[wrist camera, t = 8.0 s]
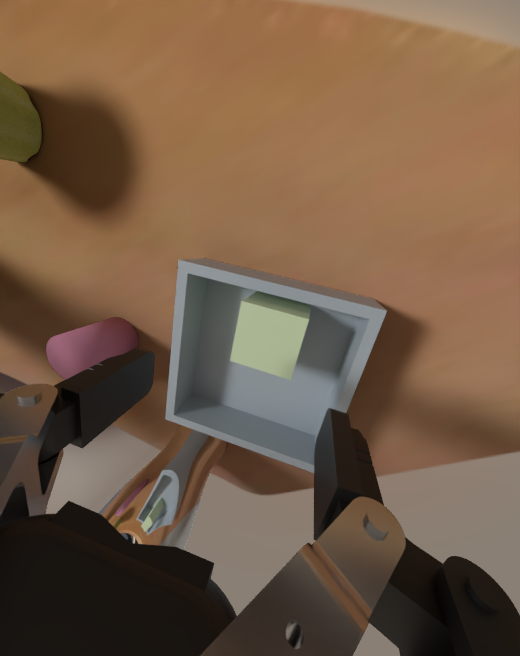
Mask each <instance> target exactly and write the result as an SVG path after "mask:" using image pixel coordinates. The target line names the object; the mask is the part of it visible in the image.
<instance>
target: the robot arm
mask: <svg viewBox="0 0 520 656" xmlns="http://www.w3.org/2000/svg"><path fill="white" fill-rule="evenodd" d="M153 373H154V354H153V353H152V352H150V351H146V350H143V349H140V348H134V349H132V350H130V351H128V352H126V353H124V354H123V355H118V356H114V357H110V358H107V359H105V360H103V361H101V362H99V363H98V364H97V365H96V364H95V365H94V366H92V367H90V368H89V369H86V370H84V371H82V372H80V373H78V374H76V375H74V376H72V377H70V378H68V379H66V380H64V381H62V382H60V383H58V384H56V385H54V386H52V385H49V384H31V385H26V386H22V387H19V388H16V389H13V390H12V391H9V392H8V393H6V394H1V393H0V656H353V654H354V652H355V650H356V648H357V646H358V644H359V642H360V640H361V638H362V636H363V634H364V632H365V630H366V628H367V626H368V624H369V623H371V624H372V625H373V626H374V627H375V628H376V629H377V630H379V631H380V632H381V633H382V634H383V635H384V636H386V637H387V638H388V639H389V640H390V641H391V642H392V643H393V644H395V645H396V646H397V647H398V648H399V651H400V656H520V615H519V613H518V611H517V609H516V608H515V606H514V604H513V603H512V601H511V600H510V598H509V597H508V596H507V594H506V593H505V592H504V591H503V589H502V588H501V587H500V586H499V585H498V584H497V583H496V582H495V580H494V579H493V578H492V577H490V576H489V575H488V574H487V573H486V572H485V571H484V570H482V569H481V568H480V567H478V566H477V565H476V564H474V563H472V562H471V561H469V560H467V559H464V558H461V557H457V556H451V557H449V558H448V559H447V560H446V561H445V562H444V563H443V564H442V563H441V562H439V561H438V560H436V559H435V558H433V557H432V556H430V555H429V554H428V553H426V552H425V551H423V550H422V549H420V548H419V547H417V546H416V545H414V544H413V543H412V542H410V541H409V540H408V539H407V538H406V537H405V535H404V532H403V530H402V527H401V525H400V524H399V522H398V521H397V519H396V518H395V516H394V515H393V514H392V513H391V512H390V511H389V510H388V509H387V508H386V507H385V506H384V504H383V501H382V497H381V493H380V489H379V486H378V482H377V478H376V474H375V471H374V467H373V466H372V460H371V456H370V452H369V448H368V445H367V442H366V440H365V439H364V437H363V436H362V434H361V433H360V432H359V430H356V429H353V428H351V426H350V421H349V416H348V414H347V413H344V412H341V411H338V410H335V409H332V408H328V410H327V412H326V414H325V417H324V420H323V423H322V425H321V428H320V431H319V433H318V436H317V439H316V444H315V450H314V540H316V541H315V542H314V543H313V544H312V545H311V544H309V543H307V544H306V545H304V546H303V547H302V548H301V549H300V550H299V551H298V552H297V553H296V554H295V555H294V556H293V557H292V559H291V560H290V561H289V562H288V563H287V564H286V565H285V566H284V567H283V568H282V569H281V570H280V571H279V572H278V573H277V574H276V576H275V577H274V578H273V579H272V580H271V581H270V582H269V583H268V584H267V585H266V586H265V587H264V588H263V589H262V590H261V591H260V592H259V594H258V595H257V596H256V597H255V598H254V599H253V600H252V601H251V602H250V603H249V604H248V605H247V606H246V607H245V608H244V609H243V610H242V612H241V613H240V614H239V615H238V616H236V613H235V611H234V609H233V607H232V605H231V604H230V602H229V601H228V599H227V597H226V596H225V594H224V593H223V592H222V590H221V589H220V588H219V587H218V585H217V584H216V583H214V582H213V581H212V580H211V575H212V570H213V566H214V563H213V562H210V561H208V560H206V559H203V558H201V557H199V556H196V555H194V554H191V553H189V552H187V551H185V550H182V549H180V548H178V547H172V546H160V545H147V544H135V543H131V542H129V541H128V540H126V539H125V538H124V537H123V536H122V535H121V534H120V533H119V532H118V531H117V530H116V529H115V528H114V527H113V526H112V525H111V524H110V523H109V522H108V521H107V520H106V519H105V518H104V517H103V516H102V515H101V514H98V513H96V512H94V511H91V510H89V509H87V508H84V507H82V506H79V505H77V504H75V503H73V502H70V501H68V502H67V503H66V504H65V505H64V506H63V507H62V508H61V509H60V510H59V511H58V513H56V514H46V509H47V504H48V500H49V498H50V494H51V491H52V488H53V485H54V482H55V479H56V476H57V473H58V469H59V466H60V463H61V460H62V457H63V448H64V447H66V446H67V445H68V444H69V443H71V444H73V445H75V446H78V447H80V448H83V447H85V446H86V445H87V444H88V443H89V442H90V441H92V440H93V439H94V438H95V437H97V436H98V435H99V434H100V433H101V432H102V431H104V430H105V429H106V428H107V427H108V426H110V425H111V424H112V423H113V422H114V421H116V420H117V419H118V418H119V417H120V416H122V415H123V414H124V413H125V412H126V411H128V410H129V409H130V408H131V407H132V406H133V405H135V404H136V403H137V402H138V401H139V400H141V399H142V398H143V397H144V396H145V395H146V394H147V393H148V392H149V391H150V389H151V387H152V383H153Z"/></svg>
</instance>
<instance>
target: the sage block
mask: <svg viewBox="0 0 520 656" xmlns="http://www.w3.org/2000/svg"><path fill="white" fill-rule="evenodd" d="M310 311H311V305H310V304H306V303H303V302H299V301H295V300H291V299H287V298H283V297H279V296H276V295H272V294H268V293H264V292H260V291H257V292H255V293H253V294H252V295H250V296H249V297H247V298H245V299H244V300H242V301H241V306H240V311H239V316H238V321H237V327H236V332H235V337H234V342H233V347H232V352H231V358H230V361H232V362H235V363H238V364H241V365H245V366H248V367H251V368H254V369H257V370H260V371H264V372H267V373H270V374H273V375H276V376H279V377H282V378H286V379H289V380H291V378H292V374H293V371H294V368H295V364H296V361H297V358H298V355H299V351H300V348H301V345H302V341H303V338H304V335H305V331H306V328H307V325H308V321H309V317H310Z"/></svg>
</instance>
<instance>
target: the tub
mask: <svg viewBox="0 0 520 656" xmlns="http://www.w3.org/2000/svg"><path fill="white" fill-rule="evenodd" d="M257 291H260V292H264V293H268V294H272V295H276V296H279V297H283V298H287V299H291V300H295V301H299V302H303V303H306V304H310V305H311V311H310V317H309V321H308V325H307V328H306V331H305V335H304V338H303V341H302V345H301V348H300V351H299V355H298V358H297V361H296V364H295V368H294V371H293V374H292V378H291V380H289V379H286V378H282V377H279V376H276V375H273V374H270V373H267V372H264V371H260V370H257V369H254V368H251V367H248V366H245V365H241V364H238V363H235V362H232V361H230V358H231V352H232V347H233V342H234V337H235V332H236V327H237V321H238V316H239V311H240V306H241V301H242V300H244V299H245V298H247V297H249V296H250V295H252V294H253V293H255V292H257ZM386 313H387V310H386V309H385V308H383V307H382V306H381V305H380V304H379V303H378V302H377V301H375V300H374V299H373V298H369V297H364V296H360V295H356V294H352V293H348V292H344V291H339V290H335V289H331V288H327V287H323V286H318V285H314V284H310V283H306V282H302V281H298V280H293V279H289V278H285V277H281V276H277V275H273V274H268V273H264V272H260V271H256V270H252V269H248V268H243V267H239V266H235V265H231V264H227V263H223V262H218V261H214V260H210V259H206V258H202V259H182V260H179V262H178V274H177V286H176V298H175V309H174V321H173V333H172V345H171V357H170V369H169V380H168V392H167V404H166V416H165V419H166V420H169V421H171V422H174V423H177V424H180V425H182V426H185V427H188V428H191V429H193V430H196V431H199V432H202V433H204V434H207V435H210V436H213V437H215V438H218V439H221V440H224V441H226V442H229V443H232V444H235V445H238V446H240V447H243V448H246V449H249V450H251V451H254V452H257V453H260V454H262V455H265V456H268V457H271V458H273V459H276V460H279V461H282V462H284V463H287V464H290V465H293V466H295V467H298V468H301V469H304V470H306V471H309V472H312V473H314V450H315V444H316V439H317V436H318V433H319V431H320V428H321V425H322V423H323V420H324V417H325V414H326V412H327V410H328V408H332V409H335V410H338V411H341V412H344V413H346V412H347V410H348V407H349V405H350V402H351V400H352V397H353V395H354V392H355V390H356V387H357V385H358V382H359V380H360V377H361V375H362V372H363V370H364V367H365V365H366V362H367V360H368V358H369V355H370V353H371V350H372V348H373V345H374V343H375V340H376V338H377V335H378V333H379V330H380V328H381V325H382V323H383V320H384V318H385V315H386Z"/></svg>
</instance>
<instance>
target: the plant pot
mask: <svg viewBox="0 0 520 656" xmlns="http://www.w3.org/2000/svg"><path fill="white" fill-rule="evenodd" d="M41 139H42V128H41V121H40V117H39V114H38V112H37V111H36V109H35V108H34V106H33V104H32V102H31V101H30V99H29V95H28V93H27V92H26V91H25V90H24V89H23V88H22V87H21V86H20V85H18V84H17V83H16V82H14V81H13V80H11V79H10V78H8V77H7V76H6V75H4V74H3V73H1V72H0V159H3V160H9V161H15V162H27V161H28V159H29V158H30V157H31V156H33V155H34V154H36V153H37V152H38V151H39V148H40V145H41Z"/></svg>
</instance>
